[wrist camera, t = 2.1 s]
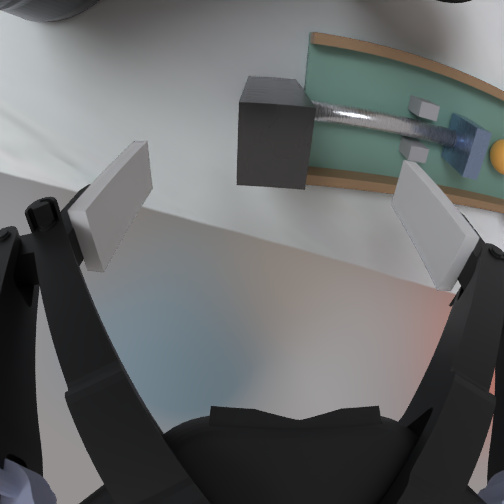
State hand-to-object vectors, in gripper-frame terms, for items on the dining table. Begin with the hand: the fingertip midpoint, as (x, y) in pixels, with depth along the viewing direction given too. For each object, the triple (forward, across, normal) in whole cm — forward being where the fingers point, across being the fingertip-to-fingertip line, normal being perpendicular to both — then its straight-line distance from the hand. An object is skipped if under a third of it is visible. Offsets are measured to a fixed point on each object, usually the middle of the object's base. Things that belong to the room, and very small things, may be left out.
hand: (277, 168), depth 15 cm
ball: (+12, +26, 0) cm, 28 cm away
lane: (+15, +17, 0) cm, 22 cm away
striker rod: (+13, +9, 0) cm, 16 cm away
